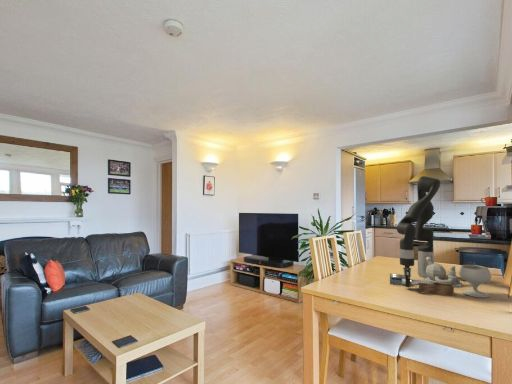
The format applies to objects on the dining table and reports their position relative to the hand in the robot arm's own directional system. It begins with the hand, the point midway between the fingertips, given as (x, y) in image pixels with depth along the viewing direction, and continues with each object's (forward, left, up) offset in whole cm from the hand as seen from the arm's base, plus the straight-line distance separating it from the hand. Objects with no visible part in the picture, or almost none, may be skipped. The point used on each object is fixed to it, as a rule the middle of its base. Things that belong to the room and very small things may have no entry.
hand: (407, 286), depth 162 cm
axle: (+2, +4, +3) cm, 6 cm away
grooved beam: (+7, +12, -2) cm, 14 cm away
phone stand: (-12, +50, -2) cm, 52 cm away
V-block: (-12, +2, -2) cm, 12 cm away
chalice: (+12, +31, -2) cm, 33 cm away
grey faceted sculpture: (-10, +29, -2) cm, 30 cm away
